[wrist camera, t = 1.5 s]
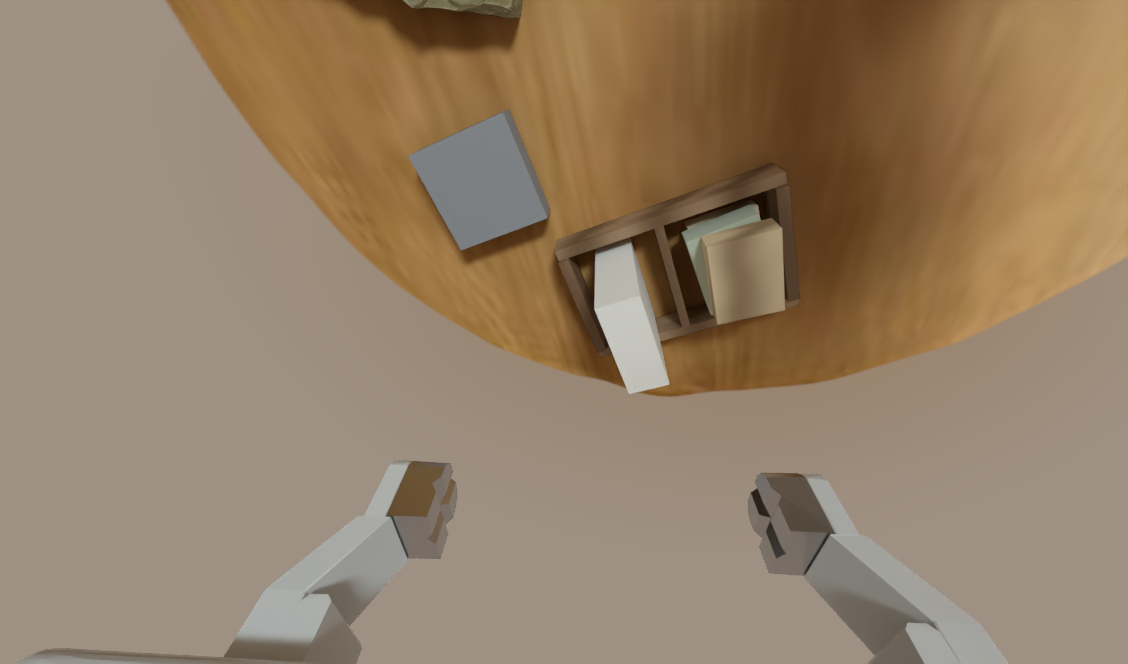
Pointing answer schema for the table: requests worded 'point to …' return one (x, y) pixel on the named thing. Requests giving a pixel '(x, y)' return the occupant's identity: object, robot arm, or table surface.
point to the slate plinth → (482, 181)
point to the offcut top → (745, 271)
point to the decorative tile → (473, 6)
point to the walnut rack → (655, 218)
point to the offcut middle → (712, 226)
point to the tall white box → (628, 317)
